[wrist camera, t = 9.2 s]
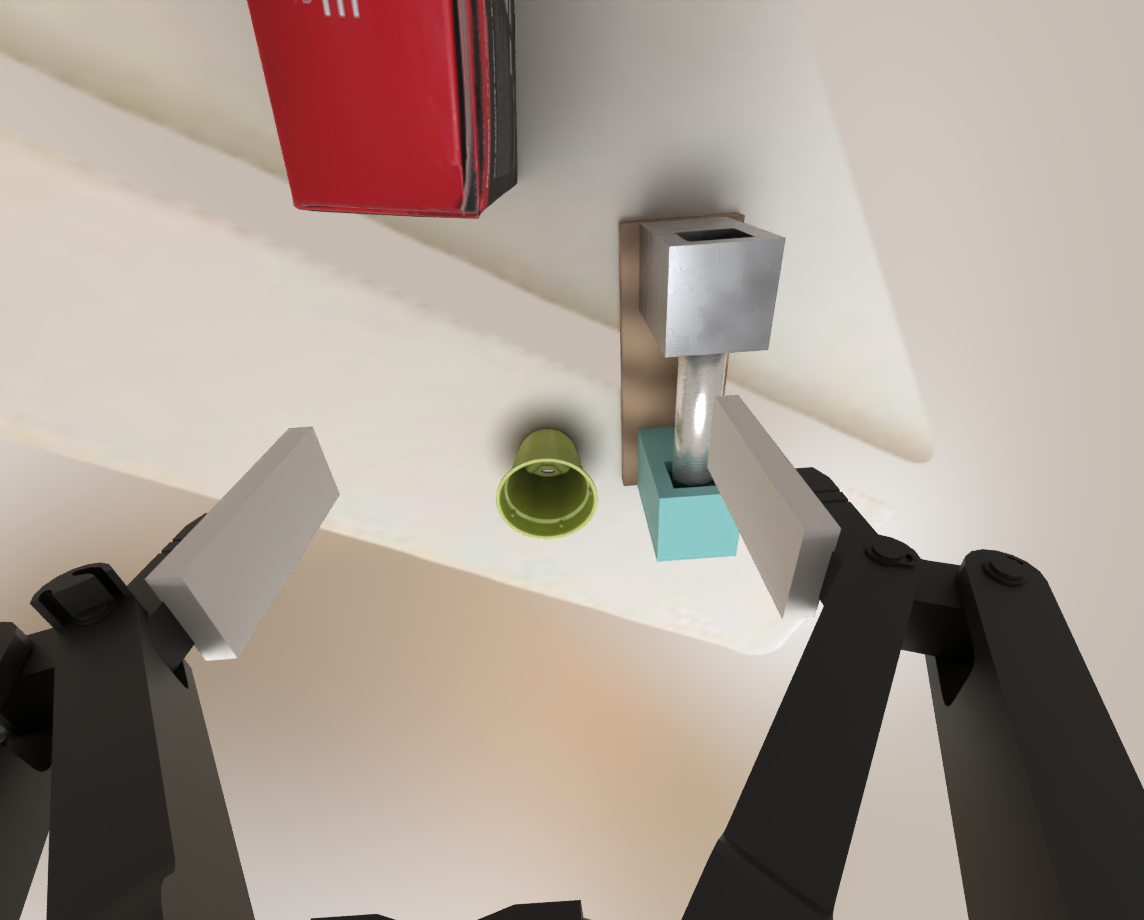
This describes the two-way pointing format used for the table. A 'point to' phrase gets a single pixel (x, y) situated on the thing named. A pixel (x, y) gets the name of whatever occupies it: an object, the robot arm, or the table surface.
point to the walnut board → (643, 356)
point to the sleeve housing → (708, 285)
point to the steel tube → (695, 417)
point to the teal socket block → (680, 506)
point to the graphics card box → (392, 102)
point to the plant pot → (547, 488)
